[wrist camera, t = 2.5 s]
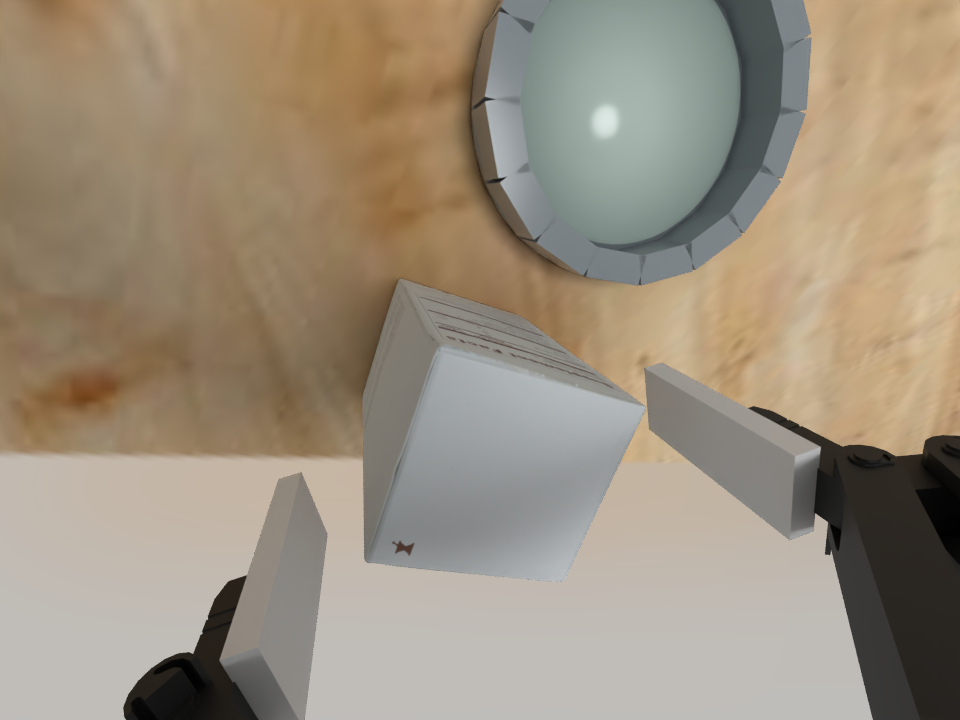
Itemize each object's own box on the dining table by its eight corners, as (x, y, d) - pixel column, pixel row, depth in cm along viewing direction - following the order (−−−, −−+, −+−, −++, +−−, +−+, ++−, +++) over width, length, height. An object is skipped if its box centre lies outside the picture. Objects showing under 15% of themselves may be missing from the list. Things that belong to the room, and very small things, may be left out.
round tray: (435, -56, 19) (449, -103, 16) (759, -100, 21) (824, -149, 18) (503, 303, 25) (522, 318, 22) (749, 237, 27) (797, 242, 24)
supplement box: (479, 426, 27) (564, 592, 16) (358, 398, 25) (354, 570, 13) (524, 313, 26) (656, 408, 14) (399, 271, 23) (434, 343, 12)
